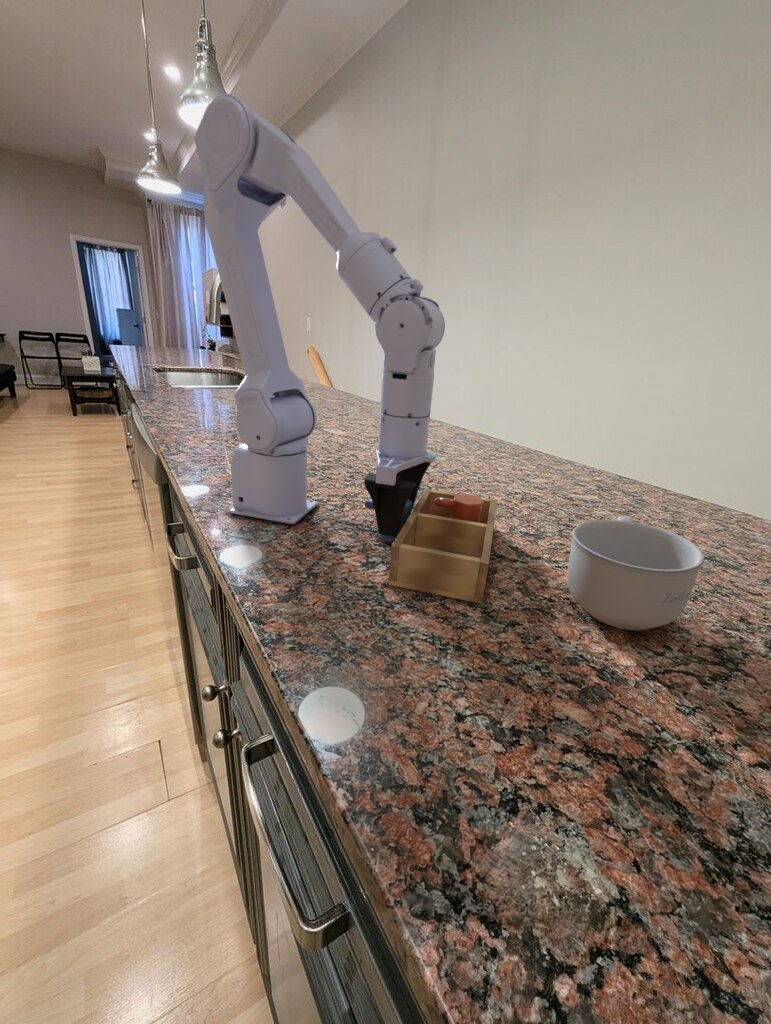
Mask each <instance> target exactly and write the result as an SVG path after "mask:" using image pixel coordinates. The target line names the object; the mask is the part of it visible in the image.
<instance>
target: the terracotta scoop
mask: <svg viewBox="0 0 771 1024" xmlns="http://www.w3.org/2000/svg"><path fill="white" fill-rule="evenodd" d="M459 494H460V493H459ZM479 497H480V496H477V495H474V494H467V493H465V494H464V493H461V494H460V495H456V496H455V497H454V500H453V499H447V498H441V497H437V498H436V499H435V500H434V504H435V506H437V507H443V508H449V509H452V515H451V518H453V519H459V520H465V521H471V522H477V523H480V519H481V513H482V507H483V500H482V499H481V498H482V497H481V498H479Z"/></svg>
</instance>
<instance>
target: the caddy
mask: <svg viewBox="0 0 771 1024" xmlns="http://www.w3.org/2000/svg"><path fill="white" fill-rule="evenodd" d="M456 495H460V493H453V492H448V491H441V490H434V489H426V488H425V490H424V491H423V493H422V494H421V496H420V498H419V499H418V500H417V503H416V504H415V505H414V507H413V509H412V511H411V514H410V516H409V518H408V519H407V521H406V523H405V524H404V526H403V528H402V529H401V531H400V533H399V534H398V536H397V537H396V539H395V541H394V542H393V543H391V547H390V558H389V559H390V560H389V574H388V585H389V586H392V587H393V586H394V587H398V588H401V589H408V590H412V591H417V592H422V593H426V594H431V595H437V596H442V597H445V598H449V599H456V600H461V601H465V602H470V603H475V604H479V605H482V604H483V601H484V595H485V589H486V582H487V577H488V571H489V566H490V560H491V559H490V558H491V552H492V551H491V550H492V544H493V537H494V536H493V535H494V529H495V521H496V520H495V519H496V511H497V504H498V499H493V498H487V497H481V496H478V497H479V498H481V499H482V500H483V507H482V513H481V519H480V523H477V522H471V521H465V520H459V519H453V518H451V515H452V509H449V508H443V507H437V506H435V504H434V500H435V499H436V498H437V497H441V498H447V499H453V500H454V497H455V496H456Z"/></svg>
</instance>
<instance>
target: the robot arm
mask: <svg viewBox="0 0 771 1024" xmlns="http://www.w3.org/2000/svg"><path fill="white" fill-rule="evenodd" d="M193 139H194V143H195V147H196V151H197V154H198V155H197V156H198V158H199V159H198V160H199V163H200V166H201V171H202V175H203V216H204V221H205V222H204V223H205V225H206V230H207V233H208V236H209V241H210V246H211V248H212V252H213V257H214V260H215V264H216V269H217V272H218V276H219V279H220V284H221V287H222V291H223V295H224V299H225V302H226V306H227V310H228V315H229V318H230V322H231V327H232V329H233V334H234V338H235V340H236V345H237V348H238V353H239V357H240V360H241V365H242V368H243V372H244V378H243V379H242V381H241V382H240V384H239V386H238V387H237V388H236V390H235V392H234V394H233V395H234V399H235V404H236V420H235V422H236V423H235V424H236V430H237V433H238V436H239V437H240V440H241V441H242V442H243V443H241V444H240V445H239V446H238V447H237V448H236V449H235V450H234V451H233V452H234V453H233V455H232V458H231V464H230V475H231V489H232V504H233V507H232V508H230V514H234V515H239V516H244V517H245V516H246V517H249V518H256V519H260V520H266V521H272V522H277V523H283V524H289V525H295V524H296V523H297V522H299V521H300V520H301V519H302V518H304V517H305V516H306V515H307V514H308V513H309V512H311V511H312V510H313V509H314V508H316V507H317V506H318V501H317V500H312V499H308V497H307V496H308V493H307V492H308V491H307V490H308V487H307V486H308V484H307V483H308V482H307V481H308V470H307V469H308V468H307V467H308V465H307V464H308V461H307V460H308V457H307V456H308V454H307V453H308V450H307V449H308V447H307V446H308V445H309V437H310V436H312V434H313V433H314V431H315V430H316V427H317V423H318V416H317V415H318V414H317V411H316V407H315V406H314V403H312V401H311V400H310V398H309V397H308V395H307V392H306V389H305V384H304V382H303V381H302V380H301V378H299V377H298V375H296V374H295V373H294V372H293V371H292V369H291V368H290V365H289V360H288V357H287V353H286V347H285V344H284V340H283V335H282V331H281V327H280V322H279V318H278V314H277V309H276V305H275V301H274V296H273V292H272V288H271V284H270V279H269V275H268V270H267V267H266V261H265V258H264V253H263V249H262V244H261V240H260V236H259V229H260V227H261V225H262V224H263V222H264V221H265V220H266V219H267V218H268V217H270V216H271V214H272V213H273V212H274V211H275V210H276V209H277V208H278V207H279V206H280V205H281V204H282V203H283V202H284V201H285V200H286V198H287V197H290V198H291V200H292V201H293V202H294V203H295V205H297V207H298V208H299V209H300V211H301V212H302V213H303V214H304V215H305V217H306V218H307V219H308V220H309V222H310V223H311V224H312V225H313V227H314V228H315V229H316V230H317V231H318V232H319V233H320V235H321V236H322V237H323V239H324V240H325V241H326V242H327V243H328V245H329V246H330V247H331V248H332V249H333V250H334V252H335V253H336V256H337V259H336V272H337V275H338V277H339V278H340V280H342V282H343V283H344V285H345V286H346V287H347V289H348V290H349V292H350V293H351V294H352V295H353V296H354V298H355V300H357V302H358V303H359V304H360V306H361V308H363V310H364V311H365V313H366V314H367V315H368V316H369V318H370V319H371V321H372V322H373V323H375V324H374V331H375V335H376V338H377V341H378V343H379V345H380V346H381V349H382V350H383V359H382V360H383V362H382V371H381V373H382V374H381V388H380V406H379V407H380V408H379V421H378V438H377V439H378V440H377V448H376V449H375V458H376V459H375V460H376V467H375V471H376V472H375V473H372V472H371V473H370V472H369V473H368V474H367V475H365V477H364V479H363V480H364V483H363V484H364V488H365V489H366V490H367V492H368V494H369V497H370V499H372V502H373V505H374V509H375V510H374V509H373V510H374V513H375V519H376V524H377V530H378V533H379V536H380V535H386V536H392V537H396V536H397V534H398V532H399V529H400V526H401V522H402V518H403V513H404V509H405V506H406V503H407V501H408V499H410V500H411V501H412V509H411V512H412V511H413V509H414V507H415V503H416V499H417V495H418V492H419V489H420V486H421V483H422V480H423V478H424V476H425V474H426V472H427V470H428V468H429V467H430V466H431V464H433V463H435V461H436V460H437V453H435V452H429V451H427V449H428V440H429V432H430V431H429V429H430V419H431V411H432V400H433V391H434V382H435V362H436V353H437V349H436V348H437V347H438V346H439V345H440V343H441V342H442V340H443V337H444V335H445V330H446V321H445V318H444V314H443V312H442V311H441V308H440V306H439V303H438V302H437V301H435V300H434V299H432V298H429V297H425V296H421V293H422V291H423V290H424V288H425V287H424V285H423V284H422V283H421V281H420V279H417V278H414V279H413V278H412V277H411V276H410V274H409V273H408V272H407V270H406V269H405V267H404V266H403V265H402V263H401V262H400V261H399V260H398V258H397V257H396V255H395V254H394V253H395V252H396V251H397V249H398V248H397V246H396V245H395V243H394V241H392V240H391V239H390V238H388V237H386V236H384V237H382V236H381V235H380V234H379V233H378V232H373V231H365V232H364V231H361V229H360V228H359V227H358V225H357V224H356V222H355V220H354V219H353V218H352V216H351V215H350V213H349V212H348V211H347V209H346V207H345V206H344V205H343V203H342V202H341V200H340V199H339V197H338V196H337V194H336V193H335V191H334V190H333V188H332V186H331V185H330V184H329V182H328V181H327V180H326V178H325V177H324V175H323V174H322V172H321V171H320V169H319V168H318V166H317V165H316V163H315V161H313V159H312V157H311V156H310V155H309V154H308V152H306V150H304V149H303V148H302V147H301V146H299V145H298V143H297V141H296V140H295V138H294V137H293V136H292V135H291V134H290V133H288V132H287V131H285V130H283V129H280V128H279V127H277V126H275V125H274V124H273V123H271V122H270V121H269V120H268V119H266V118H265V117H262V116H261V115H260V114H258V113H257V112H256V111H254V110H253V109H251V108H250V107H248V106H247V104H246V103H245V101H243V100H242V99H241V98H239V96H237V95H234V94H232V93H220V94H217V95H216V96H215V97H213V98H211V100H210V101H209V102H208V104H207V106H206V108H205V110H204V112H203V114H202V117H201V119H200V121H199V124H198V127H197V130H196V132H195V135H194V138H193Z"/></svg>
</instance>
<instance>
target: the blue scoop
mask: <svg viewBox="0 0 771 1024" xmlns="http://www.w3.org/2000/svg"><path fill="white" fill-rule="evenodd" d="M364 507H365V509H368V510H374V511H375V509H374V505H373V502H372V499H371V498H367V499H365V501H364ZM411 509H412V501H411V500H410V499H408V501H407V503H406V506H405V509H404V513H403V518H402V522H401V526H400V529H399V532H398V534H399V533H400V531H401V529H402V528H403V526H404V524H405V523H406V521H407V519H408V518H409V516H410V514H411V513H412V511H411ZM412 510H413V509H412ZM398 534H397V536H398ZM379 536H380V539H381V540H382V541H383V542H385V543H388V544H393V542H394V541H395V539H396V537H397V536H396V537H392V536H386V535H380V534H379Z"/></svg>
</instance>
